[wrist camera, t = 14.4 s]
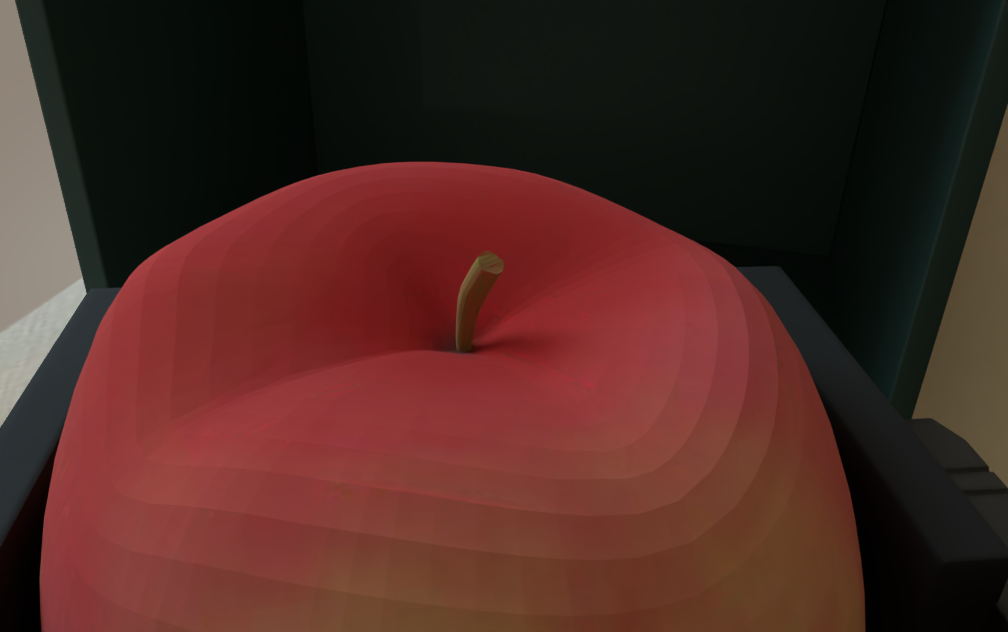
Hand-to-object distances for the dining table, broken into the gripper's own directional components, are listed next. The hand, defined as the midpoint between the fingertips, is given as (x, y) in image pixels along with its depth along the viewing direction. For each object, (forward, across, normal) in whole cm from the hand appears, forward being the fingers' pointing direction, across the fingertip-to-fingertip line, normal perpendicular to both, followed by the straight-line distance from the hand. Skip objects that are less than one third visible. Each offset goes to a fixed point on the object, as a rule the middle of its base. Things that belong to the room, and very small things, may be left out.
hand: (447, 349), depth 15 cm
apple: (-4, 0, -6) cm, 8 cm away
